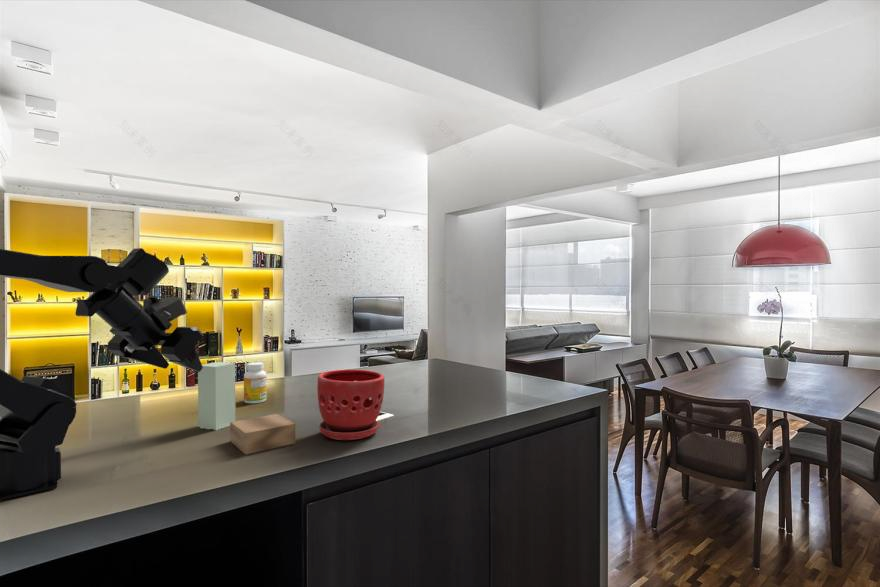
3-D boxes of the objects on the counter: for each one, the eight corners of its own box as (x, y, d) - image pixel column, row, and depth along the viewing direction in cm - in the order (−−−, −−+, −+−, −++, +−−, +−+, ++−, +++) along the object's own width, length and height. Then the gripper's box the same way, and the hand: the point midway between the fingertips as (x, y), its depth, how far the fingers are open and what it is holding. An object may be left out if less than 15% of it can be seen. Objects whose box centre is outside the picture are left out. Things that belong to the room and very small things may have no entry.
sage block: (216, 430, 94) (215, 366, 94) (198, 427, 96) (197, 365, 96) (235, 423, 98) (235, 363, 98) (218, 421, 100) (217, 361, 100)
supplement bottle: (243, 399, 120) (243, 362, 120) (265, 397, 122) (265, 361, 122) (244, 404, 115) (244, 365, 115) (267, 402, 117) (267, 364, 117)
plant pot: (322, 448, 83) (322, 382, 83) (313, 428, 95) (313, 370, 95) (392, 439, 88) (392, 377, 88) (375, 421, 100) (375, 366, 100)
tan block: (245, 456, 80) (245, 433, 80) (230, 443, 87) (230, 422, 87) (295, 444, 86) (295, 423, 86) (277, 433, 93) (277, 413, 93)
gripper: (193, 282, 81) (242, 338, 91) (123, 282, 88) (176, 334, 99) (150, 330, 74) (209, 385, 84) (78, 326, 81) (140, 377, 91)
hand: (183, 368), depth 90 cm, fingers open, 9 cm apart
